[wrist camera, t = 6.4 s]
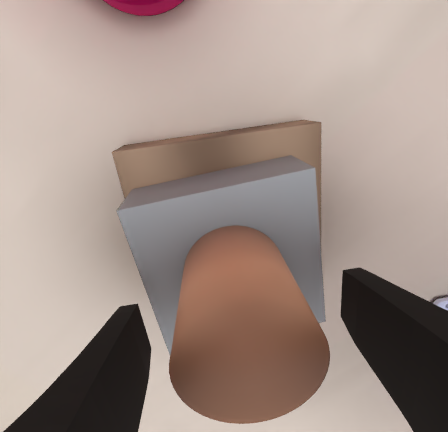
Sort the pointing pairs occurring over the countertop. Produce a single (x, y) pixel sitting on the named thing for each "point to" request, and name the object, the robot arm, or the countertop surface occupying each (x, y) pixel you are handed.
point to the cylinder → (244, 331)
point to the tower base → (218, 154)
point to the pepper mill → (144, 6)
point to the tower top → (220, 217)
